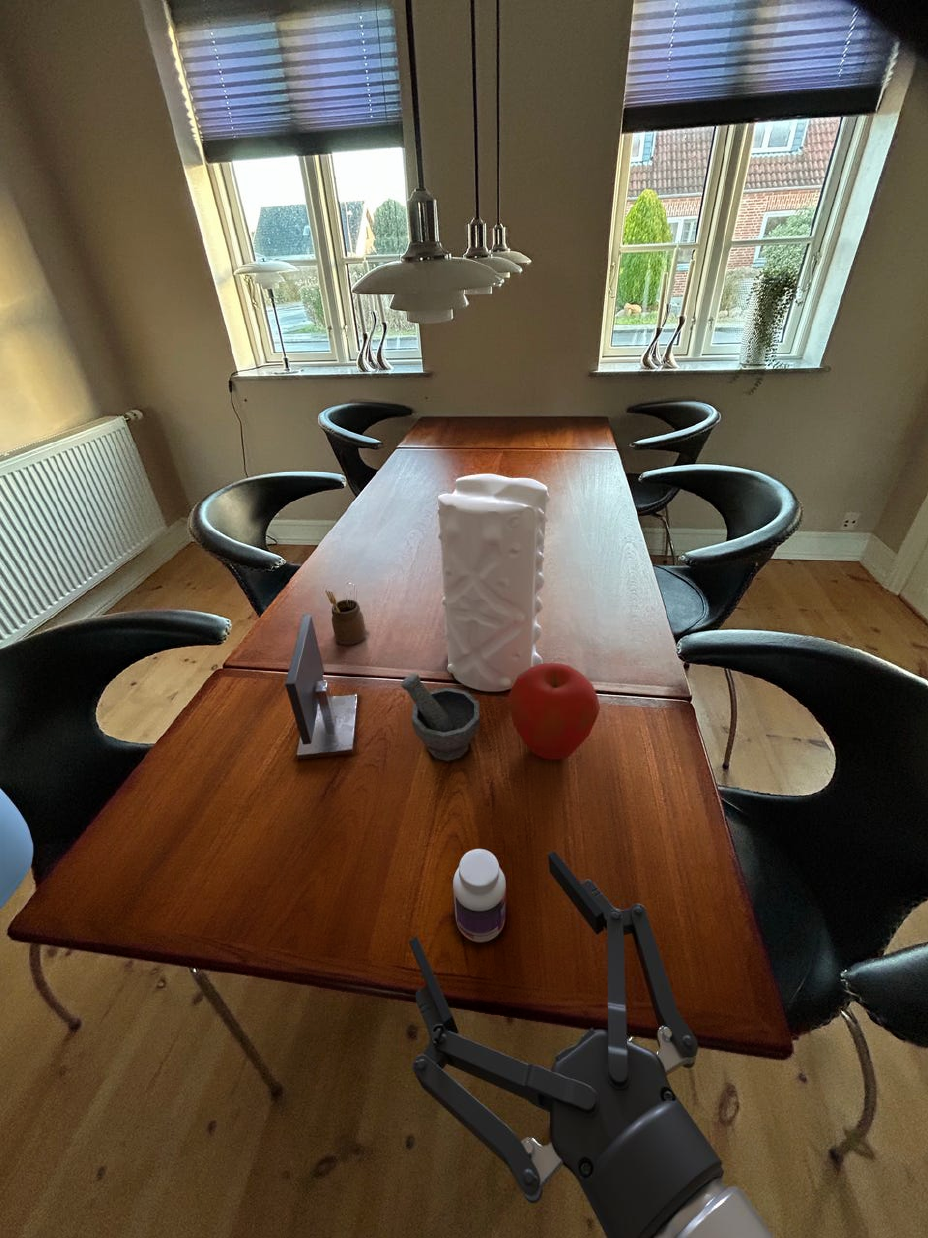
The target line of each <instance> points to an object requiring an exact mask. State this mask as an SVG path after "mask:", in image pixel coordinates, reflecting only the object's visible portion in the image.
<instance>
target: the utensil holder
mask: <svg viewBox="0 0 928 1238" xmlns="http://www.w3.org/2000/svg"><path fill="white" fill-rule="evenodd" d="M347 585H349V582H347V583H346V585H344V586H343V588H344V594H347V588H348V586H347ZM351 585H352V586H356V585H355V583H354V582H351ZM353 591H354V592H353V594H354V595H355V597H357V596H358V595H357V594H358V591H357V589H356V587H353ZM325 594H326V596H327V598H328V600H329V602H330V604H332V606H331V615H332V616H331V625H332V629H333V634H334V638H335V640H336V641H337V643H339V644H340V645H345V646H346V645H347V646H350V645H355V644H357V643H360V642H361V641H363V640H364V638H365V637H366V633H367V632H366V631H367V630H366V623H365V618H364V615H363V614H364V613H363V612H362V611H361V607H360V604H359V602H358V601H357V598H353V599H348V598H347V596H343V598H344V599H341V600H339V601H337V599H336V597H335V595H334V593H333V592H332V591H329V590H327V589H326V590H325ZM349 594H352V592H351V586H349Z"/></svg>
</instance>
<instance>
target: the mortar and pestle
mask: <svg viewBox="0 0 928 1238" xmlns="http://www.w3.org/2000/svg"><path fill="white" fill-rule="evenodd" d="M401 688H402V689H403V690H404V691H407V693H408V695H409V696H410V698H411V700H412V701H413V707H412V716H411V723H412V727H413V730H414V733H415V734H416V736H417V737H419V740H421V741H422V743H424V745H425V746H426V747H427V750H428V752H429V753H431V754H430V755H432V756H433V757H434V759H438V760H442V761H447V762H449V761H452V760H456V759H460V758H462V756H463V755H464V754H465V753H466V752H467V751H468V750H469V743H470V742H471V741H472V740H473V739H474V738H475V737H476V735H477V734H478V732H479V728H480V702H479V701H478V700H476V698H474V697H473V696H472V695H471V694H470V693H469V692H468V691H467V690H461V689H458V688H452V687H444V688H438V689H435V690H430V691H429V690H428V689H427V687H426V686H425V685H424V684H423V682H422V681H421V676H420V675H419V674H417V673H412V674H409V675H408V676H406V677H405V678H404V679H403V680H402V682H401Z"/></svg>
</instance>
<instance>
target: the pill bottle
mask: <svg viewBox="0 0 928 1238" xmlns="http://www.w3.org/2000/svg"><path fill="white" fill-rule="evenodd" d="M506 882H507V881H506V876H505V874H504V872H503V870H502V869H501V867H500V864H499V861H498V858H497V857H496V856H495V855H494V854H493V853H492V852H491V851H489V850H487V849H483V848H475V849H471V850H468V851H467V852H466V853H465V854H464V855H463V856H462V857H461V859H460V861H459V865H458V867H457V869H456V871H455V874H454V876H453V881H452V889H453V898H454V899H453V901H454V902H453V903H454V912H455V913H454V914H455V921H456V926H457V928H458V929H459V931H460V932H461V934H462V935H463V936H464V937H465V938H466V939H468V940H470V941H472V942H475V943H485V942H490V941H491V940H493V939H495V938H496V937H498V935H499V934H500V933H501V932H502V930H503V928H504V925H505V922H506V921H505V920H506V898H507V896H506V895H507V894H506V893H507V891H506V890H507V889H506V888H507V883H506Z"/></svg>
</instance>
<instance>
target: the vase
mask: <svg viewBox="0 0 928 1238" xmlns="http://www.w3.org/2000/svg"><path fill="white" fill-rule="evenodd" d="M454 485H455V489H454V491H453V492H452V493H443V494H439V495H438V496H437V502H438V505H437V506H438V509H437V514H438V524H439V533H438V539H439V540H440V541H439V542H440V557H441V558H440V559H441V560H440V561H441V574H442V587H443V588H442V589H443V598H442V600H441V604H442V606H444V620H445V633H444V637H445V638H446V650H447V668H446V671H447V672H448V673H450V674H453V677H454V679H455V680H456V681H458V683H460V684H461V685H464V686H466V687H468V688H471V689H475V690H478V691H481V692H482V691H483V692H504V691H507V690H511V689H512V687H513V685H514V683H515V681H516V679H517V677H518V675H520V674H521V673H522V672H524V671H525V670H526V669H528V668H530V667H533V666H536V665H540V664H543V658H542V657H541V655H540V654H538V653H537V649H536V643H537V641H539V640H540V638H541V636H542V627H541V626H540V624H538V615H539V614H540V613H541V612H542V610H543V607H544V604H543V601H542V600H541V598H540V597H541V589H543V587H544V585H545V576H544V575H543V566H544V561H545V557H544V553H545V538H546V537H545V534H546V523H547V522H548V520H549V517H548V515H547V504H548V503H549V501H550V499H551V496H550V494H549V493H548V486H547V485H545V484H544V483H542V482H540V481H538V480H536V479H534V478H530V477H507V476H504V475H501V474H500V475H499V474H495V473H479V474H471V475H465V476H461V477H458V478H457V479H456V480H455V482H454Z"/></svg>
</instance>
